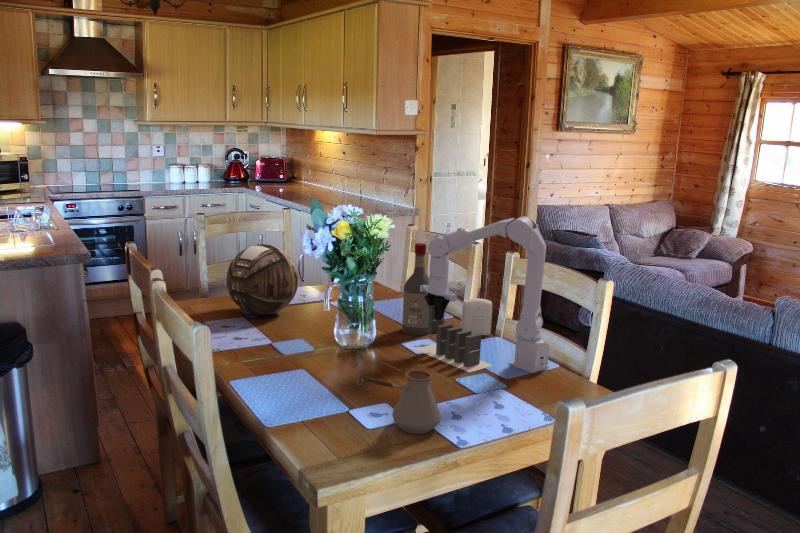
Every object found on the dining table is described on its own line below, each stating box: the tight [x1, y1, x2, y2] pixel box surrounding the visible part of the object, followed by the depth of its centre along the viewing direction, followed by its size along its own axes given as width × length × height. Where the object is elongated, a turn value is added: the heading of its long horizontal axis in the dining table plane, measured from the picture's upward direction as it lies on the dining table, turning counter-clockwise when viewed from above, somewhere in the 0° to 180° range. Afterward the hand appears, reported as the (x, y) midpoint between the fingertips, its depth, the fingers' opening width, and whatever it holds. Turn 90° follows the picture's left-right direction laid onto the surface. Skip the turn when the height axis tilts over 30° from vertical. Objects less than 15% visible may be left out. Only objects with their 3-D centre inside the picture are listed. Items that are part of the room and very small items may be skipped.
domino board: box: [414, 343, 494, 373], centre depth 211 cm, size 24×10×1 cm, turn 39°
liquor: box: [401, 242, 429, 336], centre depth 233 cm, size 9×9×30 cm
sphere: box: [226, 243, 300, 316], centre depth 247 cm, size 25×25×25 cm
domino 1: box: [427, 304, 445, 336], centre depth 215 cm, size 2×5×9 cm, turn 129°
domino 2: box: [435, 323, 454, 356], centre depth 213 cm, size 2×5×9 cm, turn 129°
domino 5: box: [464, 333, 482, 367], centre depth 204 cm, size 2×5×9 cm, turn 129°
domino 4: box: [454, 330, 472, 363], centre depth 207 cm, size 2×5×9 cm, turn 129°
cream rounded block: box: [460, 297, 493, 336], centre depth 234 cm, size 10×4×12 cm, turn 98°
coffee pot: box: [356, 369, 442, 435], centre depth 160 cm, size 21×12×15 cm, turn 120°
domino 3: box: [445, 326, 462, 359], centre depth 210 cm, size 2×5×9 cm, turn 129°
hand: (436, 318), depth 215 cm, fingers closed on domino 1, 2 cm apart
